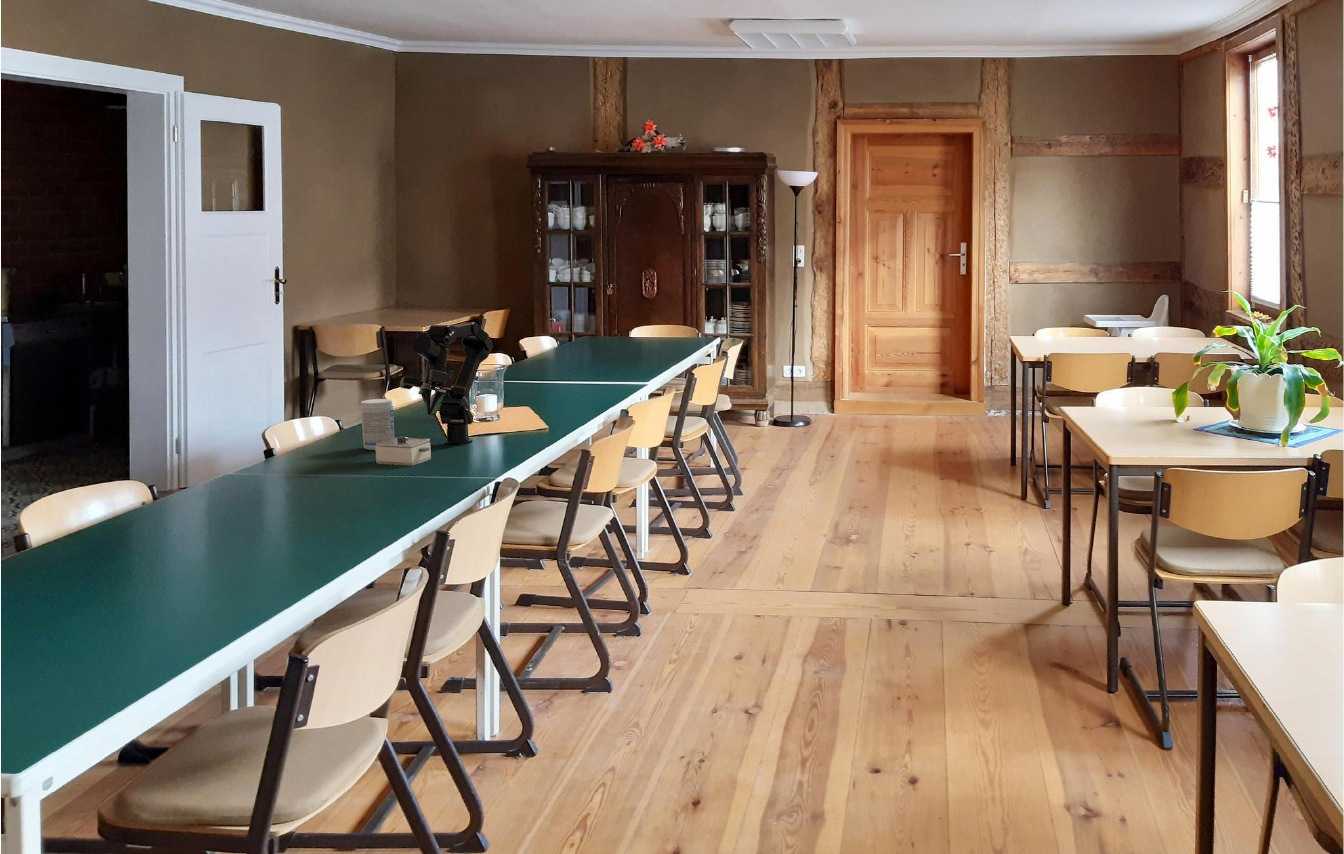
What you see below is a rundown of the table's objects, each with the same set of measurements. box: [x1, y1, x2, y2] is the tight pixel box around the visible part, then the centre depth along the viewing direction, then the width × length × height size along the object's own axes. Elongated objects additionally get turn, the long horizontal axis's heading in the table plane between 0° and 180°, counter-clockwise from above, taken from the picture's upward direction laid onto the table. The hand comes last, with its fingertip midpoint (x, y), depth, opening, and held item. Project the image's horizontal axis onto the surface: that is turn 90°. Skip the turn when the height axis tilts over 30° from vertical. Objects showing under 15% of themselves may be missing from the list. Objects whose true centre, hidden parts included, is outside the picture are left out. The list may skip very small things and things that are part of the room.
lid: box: [376, 435, 431, 447], centre depth 361 cm, size 10×12×2 cm
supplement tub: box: [360, 398, 396, 451], centre depth 383 cm, size 10×10×15 cm
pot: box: [375, 441, 432, 467], centre depth 362 cm, size 10×16×5 cm, turn 69°
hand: (428, 414), depth 371 cm, fingers closed
